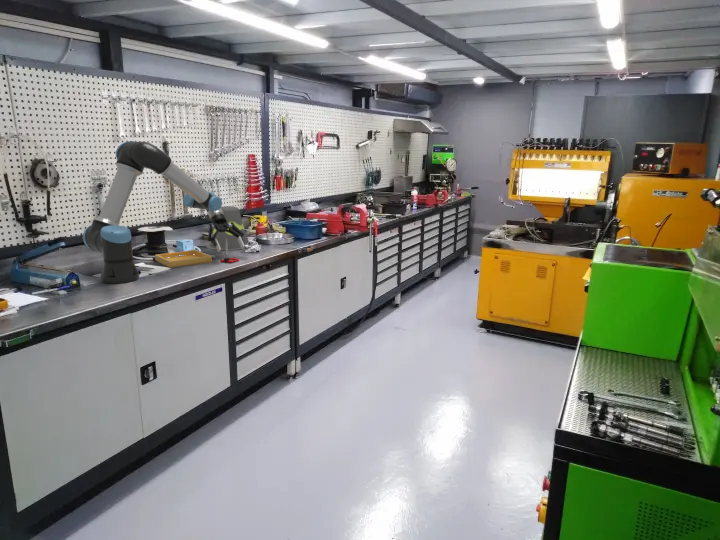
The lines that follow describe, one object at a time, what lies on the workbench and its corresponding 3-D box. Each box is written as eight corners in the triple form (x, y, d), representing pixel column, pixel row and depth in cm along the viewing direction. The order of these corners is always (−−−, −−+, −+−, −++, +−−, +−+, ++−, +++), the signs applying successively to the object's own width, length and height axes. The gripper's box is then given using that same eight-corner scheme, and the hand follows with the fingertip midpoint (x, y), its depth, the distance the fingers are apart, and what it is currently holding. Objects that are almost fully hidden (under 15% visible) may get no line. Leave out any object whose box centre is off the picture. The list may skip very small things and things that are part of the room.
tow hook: (228, 259, 258) (218, 262, 250) (227, 236, 256) (218, 238, 247) (242, 261, 256) (232, 263, 247) (241, 237, 254) (232, 239, 245)
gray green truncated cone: (196, 248, 283) (194, 207, 278) (222, 240, 309) (221, 203, 304) (237, 252, 276) (236, 210, 270) (261, 243, 302) (260, 205, 296)
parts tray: (169, 268, 235) (169, 261, 234) (155, 260, 249) (154, 254, 248) (212, 262, 249) (211, 256, 248) (196, 255, 264) (195, 249, 263)
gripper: (236, 219, 268) (250, 250, 261) (193, 223, 252) (207, 255, 245) (240, 211, 263) (255, 242, 256) (196, 214, 247) (211, 247, 240)
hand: (231, 249), depth 250 cm, fingers open, 13 cm apart
